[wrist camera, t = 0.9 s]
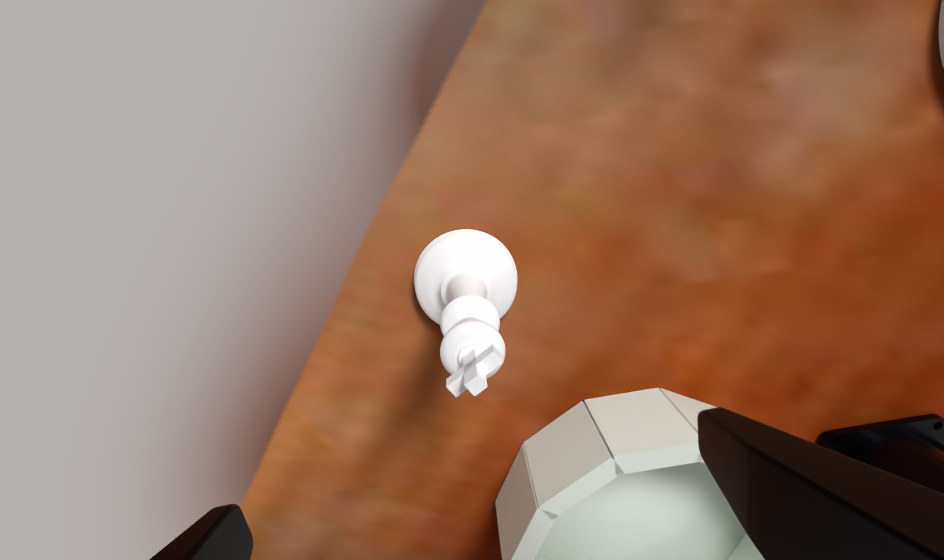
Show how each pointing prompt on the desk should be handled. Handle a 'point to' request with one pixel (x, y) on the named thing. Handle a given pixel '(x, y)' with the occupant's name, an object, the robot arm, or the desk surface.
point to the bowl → (618, 487)
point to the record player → (941, 32)
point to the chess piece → (467, 303)
